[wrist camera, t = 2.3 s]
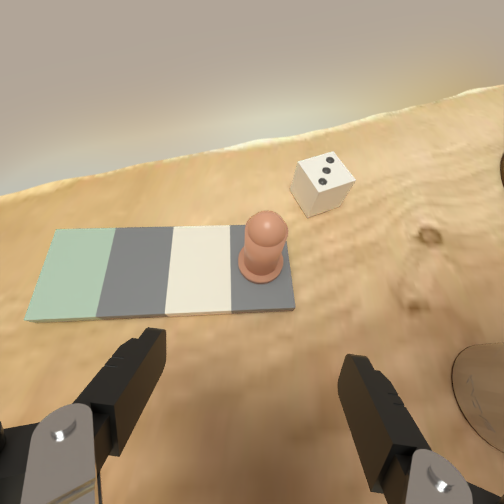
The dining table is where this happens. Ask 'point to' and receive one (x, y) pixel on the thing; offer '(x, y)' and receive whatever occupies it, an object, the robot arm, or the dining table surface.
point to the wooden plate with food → (502, 169)
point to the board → (151, 275)
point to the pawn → (263, 247)
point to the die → (321, 183)
